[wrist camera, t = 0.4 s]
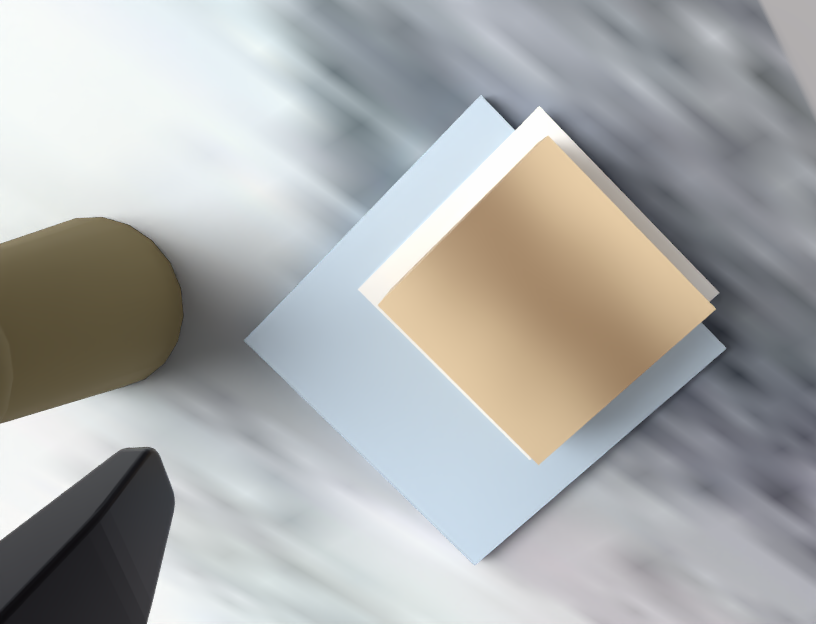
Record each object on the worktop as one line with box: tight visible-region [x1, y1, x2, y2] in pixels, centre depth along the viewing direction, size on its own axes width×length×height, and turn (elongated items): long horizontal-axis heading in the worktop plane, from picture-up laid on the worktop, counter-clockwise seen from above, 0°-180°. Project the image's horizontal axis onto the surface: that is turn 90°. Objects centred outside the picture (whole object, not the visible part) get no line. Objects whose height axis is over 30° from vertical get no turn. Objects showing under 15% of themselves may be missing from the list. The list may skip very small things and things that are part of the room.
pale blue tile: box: [244, 95, 727, 565], centre depth 23 cm, size 12×11×1 cm
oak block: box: [378, 136, 716, 465], centre depth 21 cm, size 6×6×3 cm
